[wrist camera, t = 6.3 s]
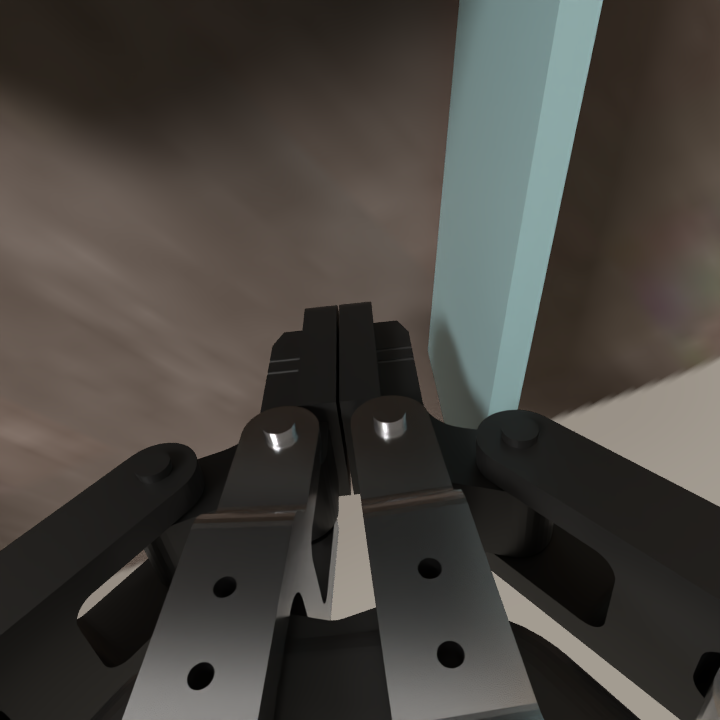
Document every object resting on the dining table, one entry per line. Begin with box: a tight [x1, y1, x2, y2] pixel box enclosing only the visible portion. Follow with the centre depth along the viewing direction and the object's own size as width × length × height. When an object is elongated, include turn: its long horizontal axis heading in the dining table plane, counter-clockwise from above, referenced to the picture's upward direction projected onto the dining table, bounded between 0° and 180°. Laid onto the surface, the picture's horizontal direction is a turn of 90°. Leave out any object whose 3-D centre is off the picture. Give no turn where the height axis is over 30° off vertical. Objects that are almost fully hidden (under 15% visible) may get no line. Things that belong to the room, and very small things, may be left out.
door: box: [428, 0, 603, 429], centre depth 10 cm, size 15×1×7 cm, turn 179°
